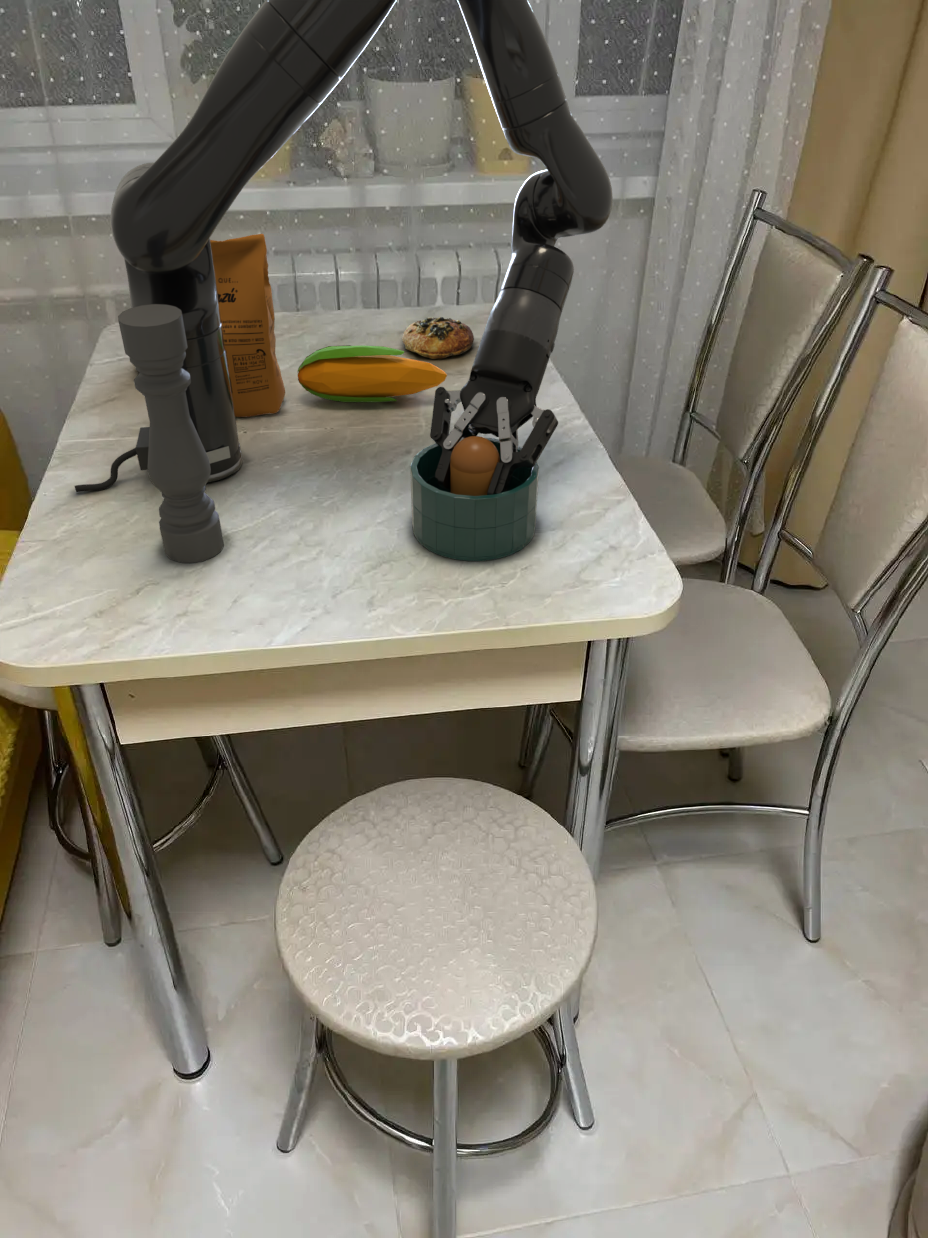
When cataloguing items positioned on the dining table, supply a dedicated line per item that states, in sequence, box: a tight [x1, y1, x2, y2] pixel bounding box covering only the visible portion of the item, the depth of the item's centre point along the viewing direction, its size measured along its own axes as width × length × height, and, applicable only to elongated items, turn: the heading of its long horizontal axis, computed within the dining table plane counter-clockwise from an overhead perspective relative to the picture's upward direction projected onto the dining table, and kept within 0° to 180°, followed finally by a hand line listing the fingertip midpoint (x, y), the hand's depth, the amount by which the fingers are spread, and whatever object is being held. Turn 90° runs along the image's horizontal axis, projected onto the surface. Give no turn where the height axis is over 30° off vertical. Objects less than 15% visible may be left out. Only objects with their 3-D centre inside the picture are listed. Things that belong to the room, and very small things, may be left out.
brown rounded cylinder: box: [450, 435, 500, 496], centre depth 104 cm, size 5×5×10 cm
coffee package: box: [210, 233, 286, 418], centre depth 125 cm, size 10×12×22 cm
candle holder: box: [117, 304, 225, 564], centre depth 96 cm, size 6×6×25 cm
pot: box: [409, 437, 540, 562], centre depth 105 cm, size 13×13×8 cm
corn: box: [296, 344, 448, 403], centre depth 131 cm, size 7×8×20 cm
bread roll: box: [401, 316, 475, 360], centre depth 147 cm, size 11×11×5 cm
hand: (467, 492), depth 103 cm, fingers closed on brown rounded cylinder, 5 cm apart
